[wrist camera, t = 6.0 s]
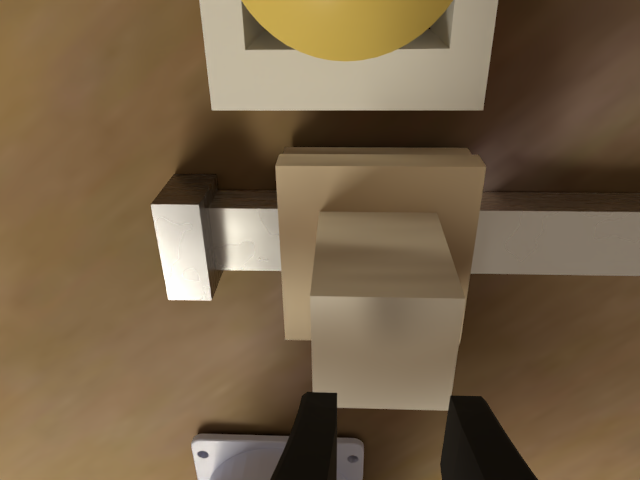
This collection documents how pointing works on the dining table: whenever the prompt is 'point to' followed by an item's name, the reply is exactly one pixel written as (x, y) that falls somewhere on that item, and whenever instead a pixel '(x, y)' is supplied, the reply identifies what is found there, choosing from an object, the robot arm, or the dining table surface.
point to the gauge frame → (348, 65)
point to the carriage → (378, 267)
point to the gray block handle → (489, 251)
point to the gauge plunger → (346, 24)
